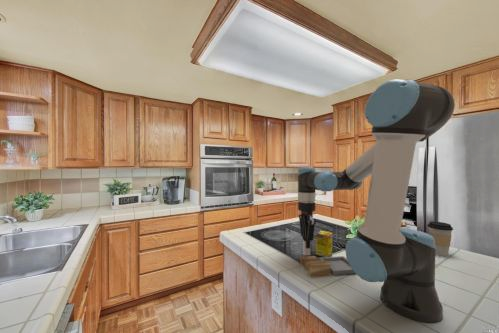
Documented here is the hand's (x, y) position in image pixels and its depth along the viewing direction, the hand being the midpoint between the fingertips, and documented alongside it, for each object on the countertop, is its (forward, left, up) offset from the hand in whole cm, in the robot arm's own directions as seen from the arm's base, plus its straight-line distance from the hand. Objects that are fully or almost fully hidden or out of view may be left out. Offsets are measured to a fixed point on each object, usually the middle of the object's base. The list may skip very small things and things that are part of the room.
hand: (306, 254), depth 94 cm
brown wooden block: (-5, 0, -4) cm, 6 cm away
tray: (-7, -11, -3) cm, 14 cm away
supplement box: (+5, -11, -3) cm, 12 cm away
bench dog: (-11, 0, -3) cm, 12 cm away
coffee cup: (-1, -69, -3) cm, 69 cm away
